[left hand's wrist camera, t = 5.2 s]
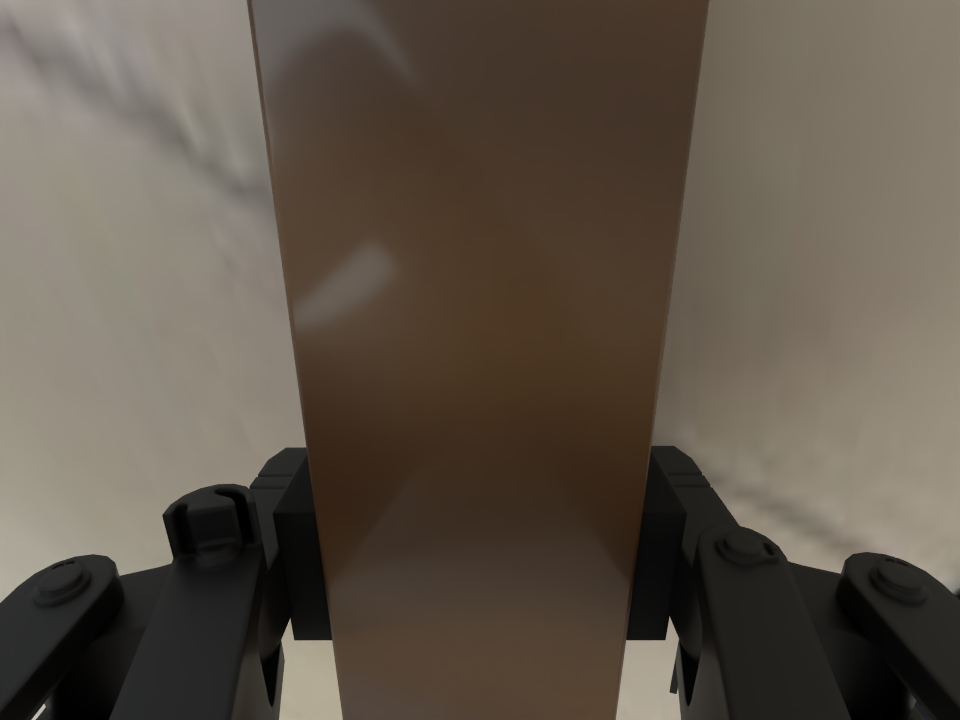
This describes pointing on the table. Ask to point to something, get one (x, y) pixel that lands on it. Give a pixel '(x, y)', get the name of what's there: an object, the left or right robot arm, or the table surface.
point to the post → (478, 329)
